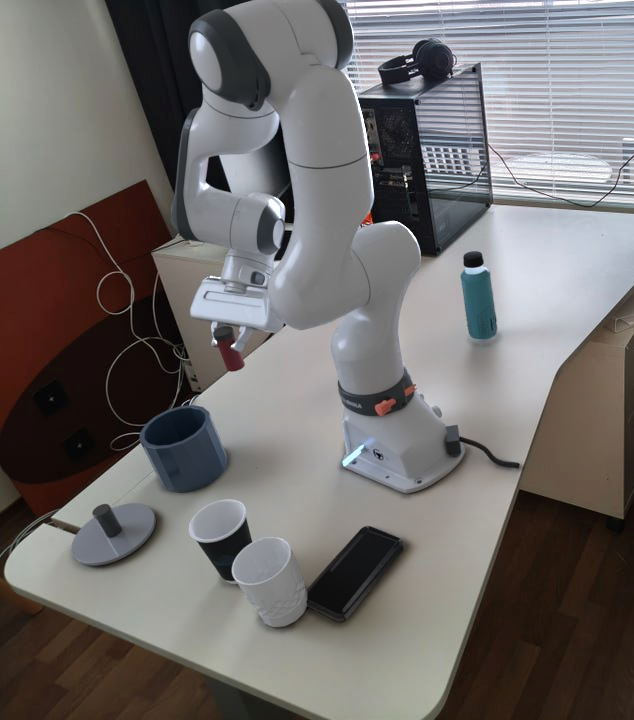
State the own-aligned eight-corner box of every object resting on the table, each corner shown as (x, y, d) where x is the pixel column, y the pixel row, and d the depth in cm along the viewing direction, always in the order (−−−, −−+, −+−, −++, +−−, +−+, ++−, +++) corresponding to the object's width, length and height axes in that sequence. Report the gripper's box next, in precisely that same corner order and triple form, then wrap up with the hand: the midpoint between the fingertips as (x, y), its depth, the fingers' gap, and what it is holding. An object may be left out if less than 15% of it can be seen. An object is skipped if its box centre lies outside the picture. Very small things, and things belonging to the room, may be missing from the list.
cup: (239, 465, 124) (221, 421, 118) (178, 502, 117) (156, 458, 112) (209, 439, 131) (191, 397, 125) (150, 472, 125) (128, 430, 119)
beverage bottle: (495, 346, 147) (486, 261, 136) (465, 345, 149) (453, 261, 138) (501, 330, 152) (492, 246, 141) (471, 330, 154) (460, 247, 143)
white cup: (290, 574, 101) (267, 528, 96) (324, 599, 97) (303, 551, 91) (246, 614, 97) (219, 567, 91) (279, 642, 92) (254, 594, 86)
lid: (170, 532, 112) (155, 505, 108) (91, 582, 105) (73, 554, 101) (139, 497, 119) (124, 470, 116) (63, 541, 113) (46, 514, 109)
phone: (405, 540, 103) (341, 619, 93) (407, 545, 104) (343, 624, 93) (364, 523, 107) (298, 597, 96) (365, 528, 107) (300, 602, 97)
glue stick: (249, 365, 132) (236, 329, 128) (232, 374, 130) (218, 338, 126) (239, 359, 134) (226, 324, 130) (223, 368, 132) (209, 332, 128)
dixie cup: (249, 542, 108) (228, 490, 102) (277, 567, 103) (256, 515, 97) (203, 574, 103) (178, 523, 97) (230, 602, 98) (205, 550, 92)
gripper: (193, 268, 133) (173, 338, 131) (276, 278, 124) (256, 352, 122) (216, 278, 138) (198, 345, 136) (298, 289, 130) (279, 360, 128)
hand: (226, 349), depth 129 cm, fingers closed on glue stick, 3 cm apart
